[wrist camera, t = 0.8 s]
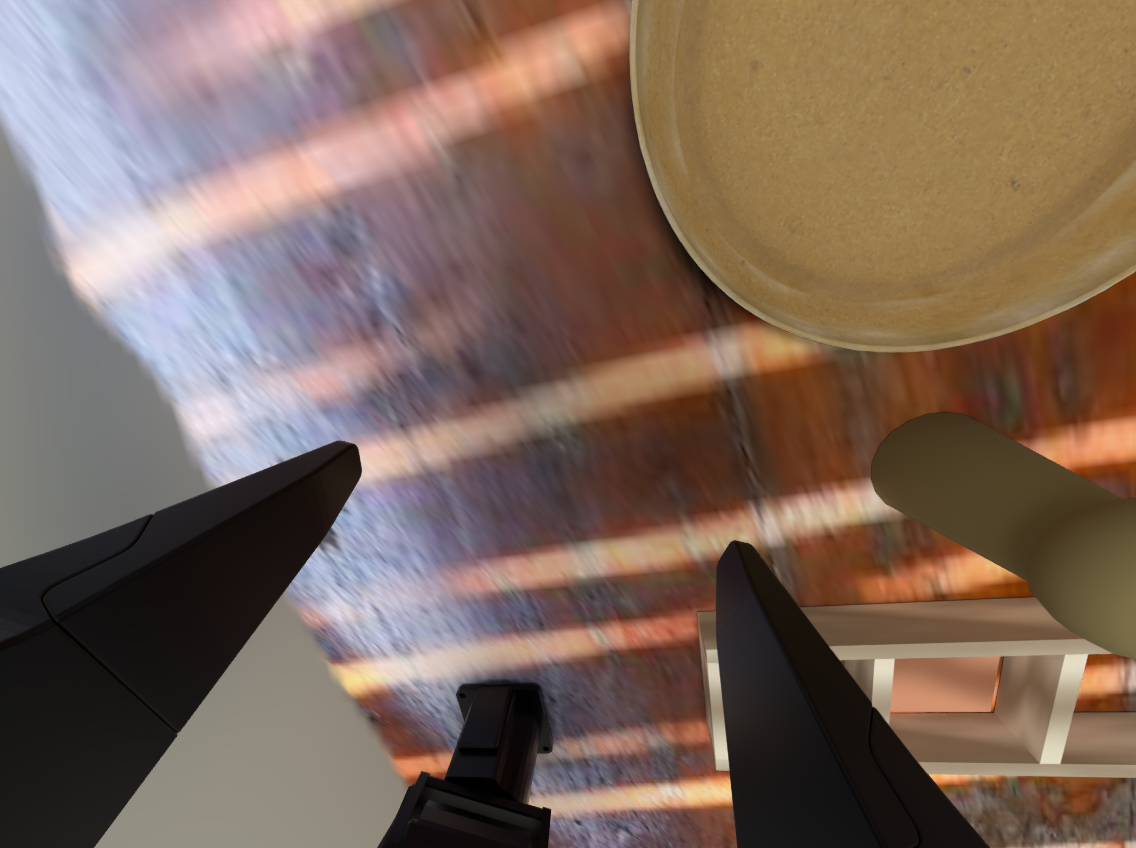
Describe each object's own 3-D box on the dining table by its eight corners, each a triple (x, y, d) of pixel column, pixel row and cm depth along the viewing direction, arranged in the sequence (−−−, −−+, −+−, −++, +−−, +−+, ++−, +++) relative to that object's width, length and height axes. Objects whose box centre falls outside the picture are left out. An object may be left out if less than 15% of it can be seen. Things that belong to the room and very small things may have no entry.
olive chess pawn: (975, 518, 22) (1284, 711, 12) (859, 511, 23) (1056, 687, 13) (1013, 414, 21) (1416, 535, 10) (885, 409, 21) (1141, 518, 11)
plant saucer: (1066, 379, 20) (1149, 394, 17) (590, 308, 22) (585, 310, 19) (1478, -379, 13) (1766, -605, 9) (696, -399, 14) (719, -595, 11)
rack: (1177, 728, 25) (1249, 784, 22) (707, 728, 29) (716, 774, 27) (1227, 588, 22) (1318, 632, 19) (696, 611, 26) (706, 649, 24)
